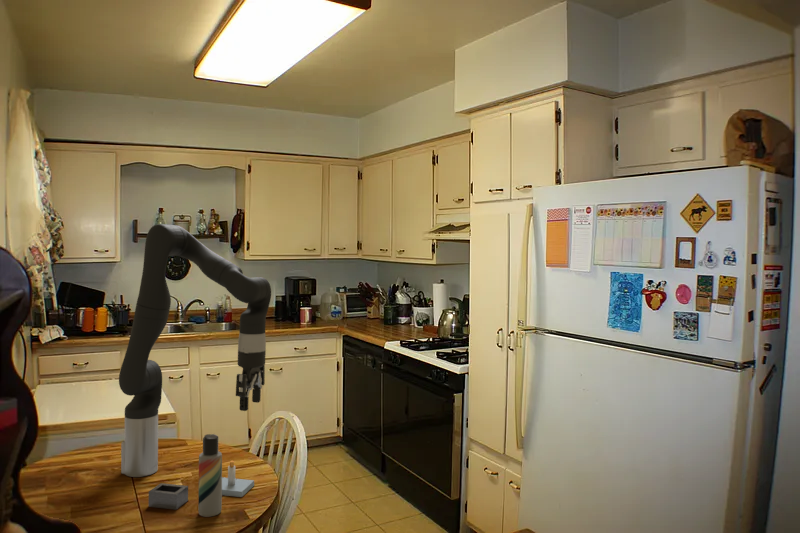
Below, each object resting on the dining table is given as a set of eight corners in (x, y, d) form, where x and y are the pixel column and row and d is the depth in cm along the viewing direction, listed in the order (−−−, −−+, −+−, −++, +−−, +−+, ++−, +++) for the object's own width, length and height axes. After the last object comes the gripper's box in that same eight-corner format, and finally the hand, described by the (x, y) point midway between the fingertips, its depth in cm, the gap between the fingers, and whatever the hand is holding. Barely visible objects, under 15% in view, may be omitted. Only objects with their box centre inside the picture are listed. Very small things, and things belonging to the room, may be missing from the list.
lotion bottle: (201, 507, 155) (202, 431, 154) (223, 507, 155) (224, 431, 154) (195, 517, 149) (196, 439, 148) (218, 517, 149) (219, 438, 149)
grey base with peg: (208, 493, 163) (208, 465, 163) (221, 482, 171) (221, 455, 171) (241, 497, 161) (242, 468, 161) (254, 485, 169) (254, 457, 169)
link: (148, 506, 154) (148, 491, 154) (160, 497, 160) (160, 483, 160) (176, 509, 153) (176, 494, 153) (188, 500, 159) (188, 485, 158)
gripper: (249, 343, 172) (247, 398, 173) (227, 352, 158) (226, 412, 159) (274, 345, 171) (272, 400, 172) (254, 354, 157) (252, 414, 158)
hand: (250, 406), depth 166 cm, fingers open, 8 cm apart
